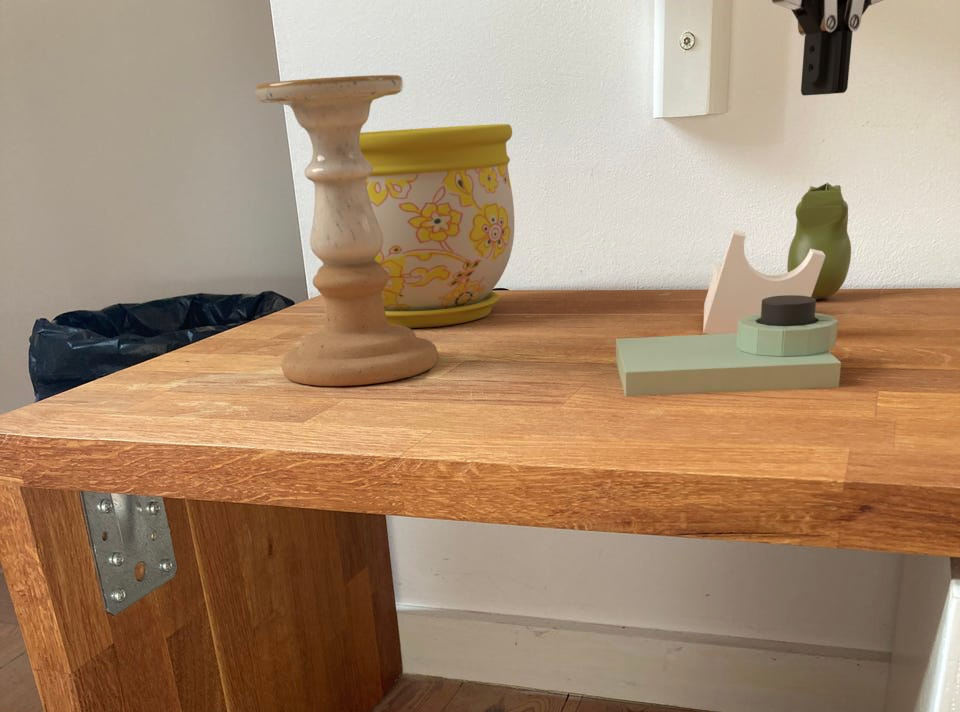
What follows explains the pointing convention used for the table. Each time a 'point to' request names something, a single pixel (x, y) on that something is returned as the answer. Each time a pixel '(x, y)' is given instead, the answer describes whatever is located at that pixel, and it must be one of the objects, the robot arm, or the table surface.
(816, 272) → the bracket
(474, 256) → the flowerpot
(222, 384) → the table surface
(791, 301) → the button
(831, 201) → the olive green rounded piece
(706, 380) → the green base plate
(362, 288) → the candle holder
